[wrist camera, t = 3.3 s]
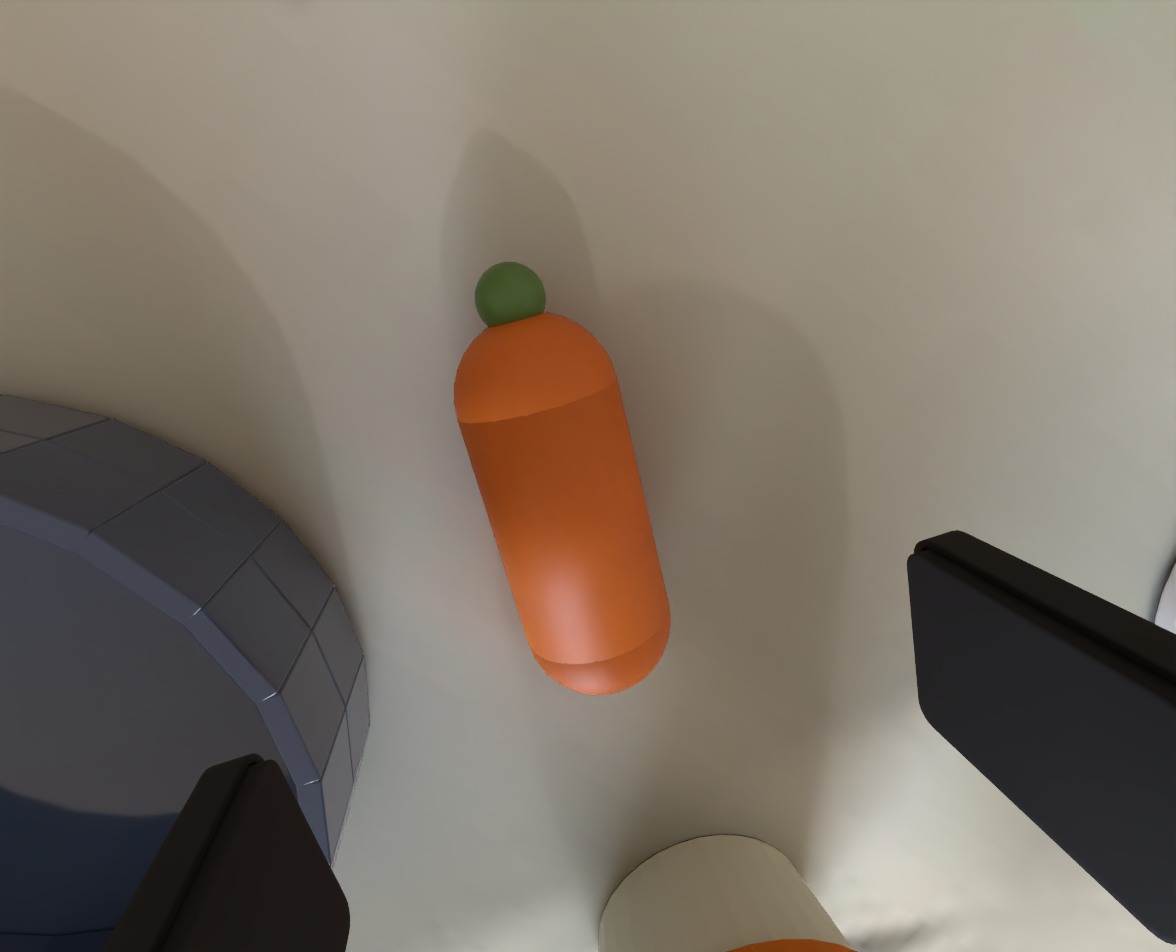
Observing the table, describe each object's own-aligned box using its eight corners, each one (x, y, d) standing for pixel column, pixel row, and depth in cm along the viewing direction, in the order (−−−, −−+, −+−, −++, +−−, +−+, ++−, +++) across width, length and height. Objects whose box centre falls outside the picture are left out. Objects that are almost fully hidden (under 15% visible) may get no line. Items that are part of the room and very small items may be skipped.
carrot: (661, 622, 22) (703, 699, 18) (540, 659, 21) (553, 747, 17) (572, 248, 18) (599, 233, 14) (423, 286, 18) (404, 282, 13)
